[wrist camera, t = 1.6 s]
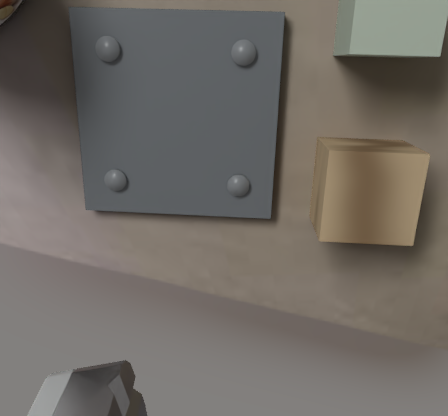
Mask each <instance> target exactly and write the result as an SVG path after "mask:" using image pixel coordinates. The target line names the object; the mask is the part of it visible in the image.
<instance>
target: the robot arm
mask: <svg viewBox="0 0 448 416" xmlns="http://www.w3.org/2000/svg"><path fill="white" fill-rule="evenodd" d="M134 381H135V374H134V371H133V369H132V367H131V364H130V363H129V362H128V361H126V360H125V361H119V362H113V363H108V364H101V365H96V366H90V367H83V368H77V369H73V370H68V371H62V372H56V373H52V374H51V375H49V376H48V377H46V379H45V381H44V383H43V385H42V387H41V389H40V391H39V393H38V395H37V397H36V399H35V401H34V403H33V405H32V407H31V409H30V411H29V413H28V415H27V416H147V412H146V407H145V403H144V400H143V397H142V394H141V393H139V392H138V391H136V390H135V389H133V386H134Z"/></svg>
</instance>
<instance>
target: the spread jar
mask: <svg viewBox="0 0 448 416" xmlns="http://www.w3.org/2000/svg"><path fill="white" fill-rule="evenodd" d="M23 2H24V0H0V27H1V26H3V25H4V24H5V23H6V22H8V21H9V20H10V19H11V18H12V17H13V16H14V14H15V13H16V12H17V11H18V9H19V8H20V6H21V5H22V3H23Z"/></svg>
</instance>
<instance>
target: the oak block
mask: <svg viewBox="0 0 448 416" xmlns="http://www.w3.org/2000/svg"><path fill="white" fill-rule="evenodd" d="M429 159H430V154H429V153H427V152H425V151H423V150H421V149H419V148H417V147H415V146H413V145H411V144H409V143H407V142H405V141H403V140H377V139H351V138H324V137H317V147H316V156H315V166H314V176H313V186H312V196H311V206H310V218H311V221H312V224H313V226H314V229H315V232H316V234H317V237H318V239H319V241H323V242H343V243H362V244H382V245H402V246H413V243H414V238H415V233H416V227H417V222H418V217H419V212H420V206H421V201H422V196H423V191H424V185H425V180H426V175H427V170H428V164H429Z"/></svg>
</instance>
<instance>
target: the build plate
mask: <svg viewBox="0 0 448 416" xmlns="http://www.w3.org/2000/svg"><path fill="white" fill-rule="evenodd" d="M284 17H285V12H265V11H222V10H179V9H136V8H93V7H69V18H70V30H71V42H72V54H73V66H74V77H75V89H76V101H77V113H78V125H79V136H80V148H81V160H82V172H83V184H84V195H85V207H86V210H97V211H118V212H139V213H160V214H181V215H202V216H223V217H244V218H265V219H271V207H272V192H273V177H274V163H275V148H276V134H277V119H278V104H279V90H280V75H281V61H282V46H283V31H284Z"/></svg>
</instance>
